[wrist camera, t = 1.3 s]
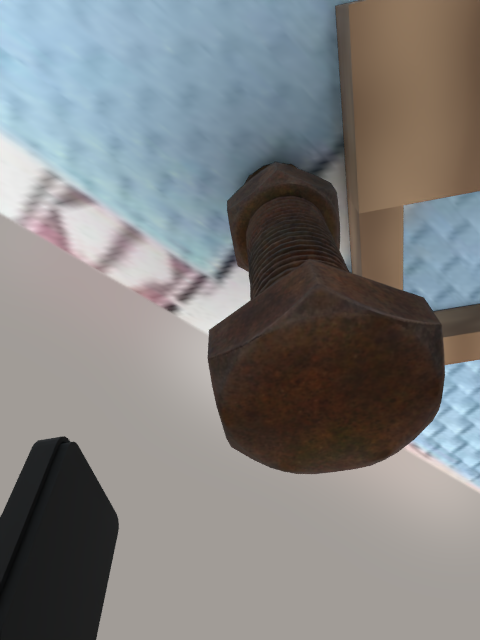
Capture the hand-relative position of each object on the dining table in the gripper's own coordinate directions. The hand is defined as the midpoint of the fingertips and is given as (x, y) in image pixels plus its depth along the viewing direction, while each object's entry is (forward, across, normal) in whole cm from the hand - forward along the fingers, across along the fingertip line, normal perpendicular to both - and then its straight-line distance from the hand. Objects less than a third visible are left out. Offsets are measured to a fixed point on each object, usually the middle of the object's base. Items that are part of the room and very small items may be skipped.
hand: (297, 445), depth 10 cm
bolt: (+16, -1, 0) cm, 16 cm away
